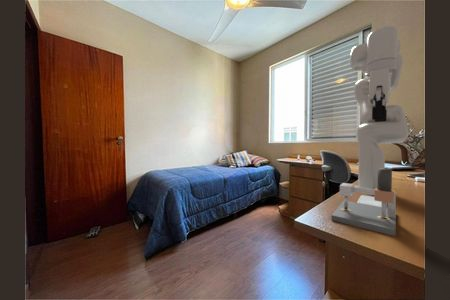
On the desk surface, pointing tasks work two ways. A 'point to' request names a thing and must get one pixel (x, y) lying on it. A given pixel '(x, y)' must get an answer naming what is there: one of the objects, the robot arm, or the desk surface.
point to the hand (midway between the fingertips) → (379, 120)
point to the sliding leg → (384, 189)
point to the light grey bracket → (350, 189)
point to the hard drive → (369, 201)
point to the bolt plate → (365, 217)
